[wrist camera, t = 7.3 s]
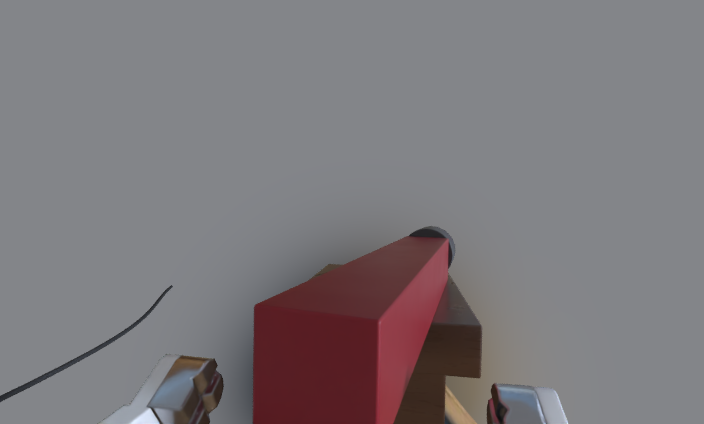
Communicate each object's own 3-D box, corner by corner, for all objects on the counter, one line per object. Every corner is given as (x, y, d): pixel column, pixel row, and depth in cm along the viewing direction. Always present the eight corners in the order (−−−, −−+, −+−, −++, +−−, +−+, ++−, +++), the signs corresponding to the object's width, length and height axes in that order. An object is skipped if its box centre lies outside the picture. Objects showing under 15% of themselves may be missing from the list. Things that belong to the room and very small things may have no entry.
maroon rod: (392, 471, 7) (396, 292, 7) (239, 431, 8) (241, 276, 8) (454, 273, 28) (455, 227, 28) (408, 269, 29) (409, 225, 29)
